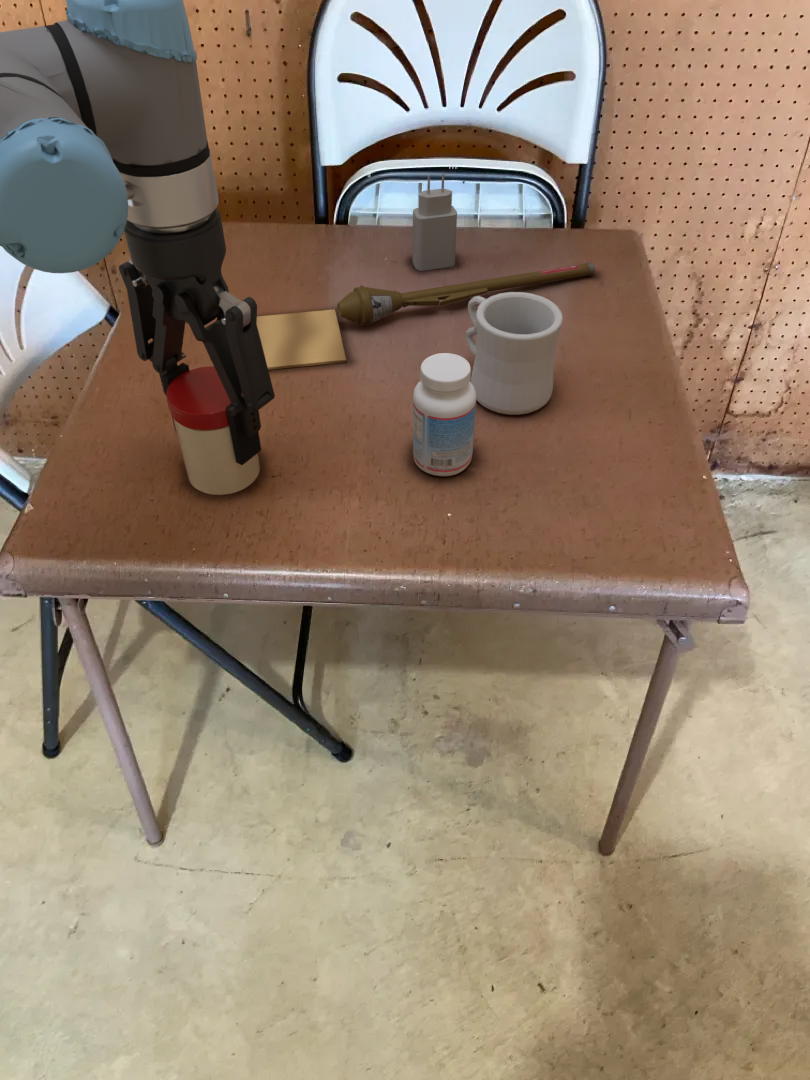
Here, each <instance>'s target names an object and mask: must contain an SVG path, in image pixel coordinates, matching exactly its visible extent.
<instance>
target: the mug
mask: <svg viewBox="0 0 810 1080" xmlns="http://www.w3.org/2000/svg"><path fill="white" fill-rule="evenodd" d="M467 311H468V315H469V318H470V320H471V322H472V325H473V326H470V327H469V328H468V329H466V331H465V336H464V337H465V340H466V344H467V346H468V348H469V350H470V352H471V353H472V354H473V356H474V361H473V367H472V370H471V374H470V376H471V379H470V382H471V384H472V385H473V386H474V388H475V391H476V402H478V404H480V405H481V406H482V407H484V408H486V409H487V410H489V411H492V412H494V413H498V414H501V415H507V416H508V415H509V416H514V415H515V416H521V415H527V414H530V413H533V412H535V411H538V410H540V409H541V408H542V407H544V406H545V405H546V404H547V403H548V402H549V401H550V399H551V397H552V394H553V390H554V363H555V355H556V347H557V342H558V339H559V335H560V332H561V328H562V324H563V321H564V318H563V313H562V310H561V309H560V308H559V307H558V305H557V304H556V303H555V302H553V301H551V300H550V299H548V298H546V297H544V296H541V295H538V294H534V293H530V292H523V291H508V292H501V293H497V294H494V295H490V296H489V297H488V298H485V297H483V296H482V295H478V296H474V297H471V298H470V299H469V301H468V304H467ZM475 335H476V340H475V338H474V336H475Z"/></svg>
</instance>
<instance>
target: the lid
mask: <svg viewBox="0 0 810 1080" xmlns="http://www.w3.org/2000/svg"><path fill="white" fill-rule="evenodd" d="M189 370H190V371H187V372H185V373H183V374H181V375H180V376H178V377H177V378H175V379H174V380H173V381H172V382H171V384H170V385H169V387H168V389H167V394H166V395H167V397H166V403H167V406H168V409H169V412H170V415H171V418H172V417H173V419H174V420H175V421H176V422H177V423H179V424H180V425H182V426H184V427H187V428H190V429H195V430H213V429H219V428H223V427H226V426H228V425H229V422H228V416H227V411H226V407H227V406H228V405H230V404H231V401H230V399H229V397H228V395H227V393H226V391H225V389H224V386H223V384H222V382H221V380H220V378H219V376H218V374H217V371H216V369H215V367H214V365H209V366H201V367H196V368H193V369H189ZM242 393H243V392H242ZM166 395H165V396H166ZM173 419H172V420H173Z"/></svg>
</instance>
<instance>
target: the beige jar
mask: <svg viewBox="0 0 810 1080" xmlns="http://www.w3.org/2000/svg"><path fill="white" fill-rule="evenodd" d="M173 420H174V419H172V421H173ZM174 424H175V427H174V429H175V428H176V431H175V432H176V436H177V438H178V443H179V447H180V451H181V455H182V460H183V463H184V467H185V471H186V475H187V478H188V481H189V483H190V484H191V486H192V487H193V488H194V489H196V490H198V491H199V492H201V493H204V494H207V495H214V496H224V495H231V494H235V493H238V492H240V491H242V490H245V489H247V488H248V487H249V486H251V485H252V484H253V483H254V482H255V481H256V480H257V478H258V476H259V474H260V470H261V463H260V457H259V452H258V453H257V454H256V455H255V456H253V457H252V458H251V459H250V460H248V461H247V462H246V463H245V464H243V465H240V464H238V463H236V458H235V453H234V448H233V442H232V437H231V432H230V427H229V425H228V426H226V427H223V428H219V429H213V430H195V429H190V428H187V427H184V426H182V425H180V424H179V423H177V422H176V421H175V420H174V423H173V425H174Z"/></svg>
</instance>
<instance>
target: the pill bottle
mask: <svg viewBox="0 0 810 1080" xmlns="http://www.w3.org/2000/svg"><path fill="white" fill-rule="evenodd" d="M471 373H472V370H471V364H470V362H469V361H468V360H467V359H466V358H464V357H463V356H461V355H458V354H455V353H449V352H441V353H435V354H432V355H430V356H428V357H425V359H424V360H423V361H422V362H421V365H420V373H419V379H420V380H419V381H418V382H417V383H416V385H415V387H414V389H413V393H412V395H413V396H412V456H413V460H414V463H415V464H416V466H417V467H418V468H419V469H420V470H421V471H423V472H425V473H426V474H429V475H432V476H436V477H437V476H438V477H450V476H455V475H457V474H460V473H461V472H463V471H464V470H465V469H466V468H468V466H469V465H470V463H471V462H472V459H473V455H474V453H473V452H474V439H475V437H474V436H475V422H476V408H477V400H476V391H475V388H474V386H473V385H472V384H471V382H470V381H471Z"/></svg>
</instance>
